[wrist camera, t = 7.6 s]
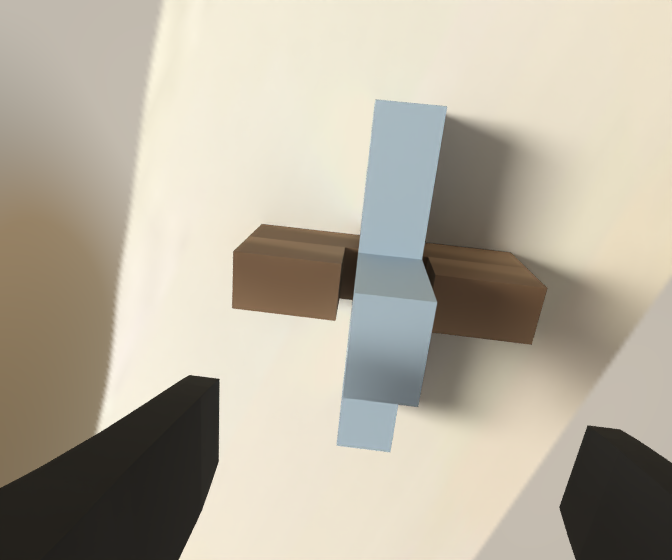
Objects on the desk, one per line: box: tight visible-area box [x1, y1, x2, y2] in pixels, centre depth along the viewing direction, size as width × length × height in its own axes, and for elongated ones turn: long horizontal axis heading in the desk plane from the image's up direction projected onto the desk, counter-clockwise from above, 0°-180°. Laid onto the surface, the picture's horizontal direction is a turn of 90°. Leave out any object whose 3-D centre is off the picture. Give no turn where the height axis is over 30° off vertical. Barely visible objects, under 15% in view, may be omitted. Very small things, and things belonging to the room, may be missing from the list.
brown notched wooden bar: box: [232, 224, 547, 345], centre depth 17 cm, size 2×10×4 cm, turn 85°
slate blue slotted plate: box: [337, 100, 447, 452], centre depth 15 cm, size 12×2×8 cm, turn 175°
